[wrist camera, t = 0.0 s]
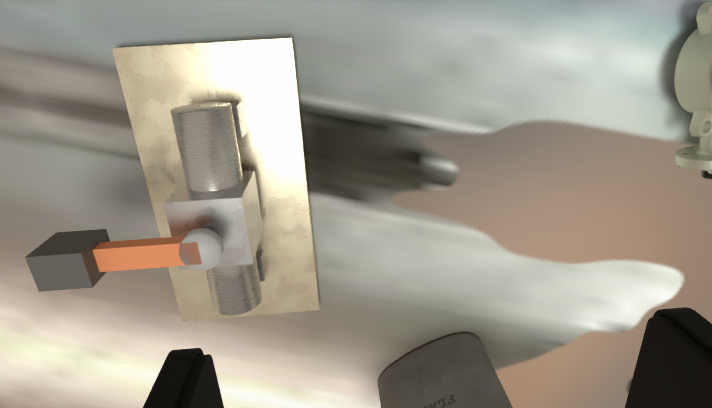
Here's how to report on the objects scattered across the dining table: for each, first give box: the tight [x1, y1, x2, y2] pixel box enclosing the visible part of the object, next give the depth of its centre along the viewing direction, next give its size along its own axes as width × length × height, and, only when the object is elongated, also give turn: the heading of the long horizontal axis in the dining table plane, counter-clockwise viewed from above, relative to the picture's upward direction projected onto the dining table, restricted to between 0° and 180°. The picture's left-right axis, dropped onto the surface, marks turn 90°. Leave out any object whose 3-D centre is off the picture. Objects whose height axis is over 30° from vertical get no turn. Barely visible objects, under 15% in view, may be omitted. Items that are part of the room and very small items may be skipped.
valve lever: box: [25, 228, 224, 292], centre depth 34 cm, size 14×3×4 cm, turn 93°
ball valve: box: [112, 37, 320, 321], centre depth 41 cm, size 30×16×12 cm, turn 3°
